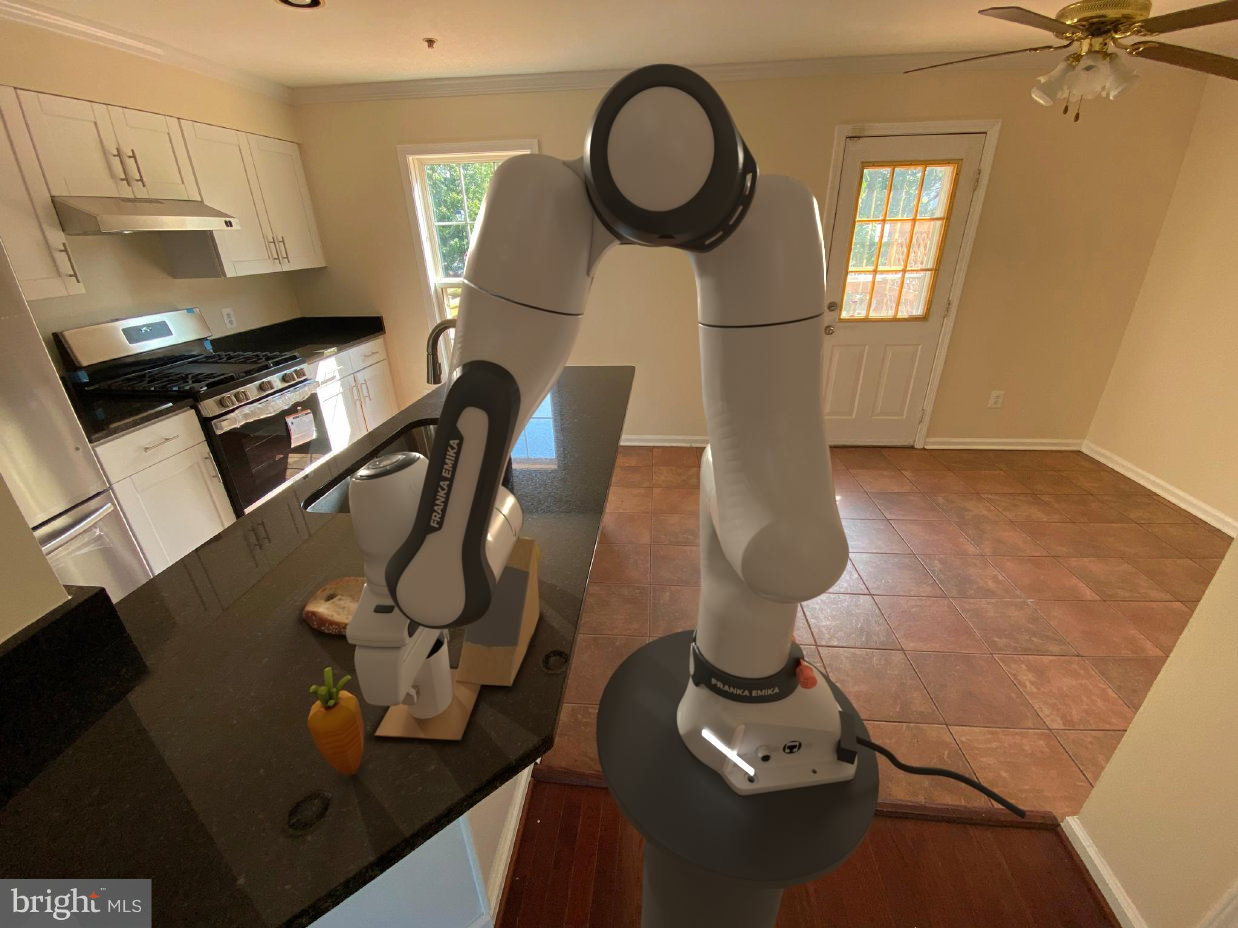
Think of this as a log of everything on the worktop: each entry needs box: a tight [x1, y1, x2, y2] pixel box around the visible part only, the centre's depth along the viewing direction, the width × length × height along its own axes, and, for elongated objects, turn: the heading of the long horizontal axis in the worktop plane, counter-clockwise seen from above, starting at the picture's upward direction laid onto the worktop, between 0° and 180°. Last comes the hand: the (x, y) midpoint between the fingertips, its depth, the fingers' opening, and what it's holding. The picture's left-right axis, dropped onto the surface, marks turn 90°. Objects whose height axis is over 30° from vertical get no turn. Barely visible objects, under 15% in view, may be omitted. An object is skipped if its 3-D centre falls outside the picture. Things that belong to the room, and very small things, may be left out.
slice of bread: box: [301, 576, 367, 636], centre depth 84 cm, size 18×18×4 cm
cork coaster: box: [374, 668, 483, 741], centre depth 67 cm, size 11×11×1 cm
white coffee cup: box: [407, 630, 453, 719], centre depth 65 cm, size 7×7×10 cm
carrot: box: [307, 666, 365, 777], centre depth 55 cm, size 5×5×15 cm
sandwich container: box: [456, 537, 540, 687], centre depth 74 cm, size 9×15×15 cm, turn 173°
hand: (427, 670), depth 65 cm, fingers open, 8 cm apart
